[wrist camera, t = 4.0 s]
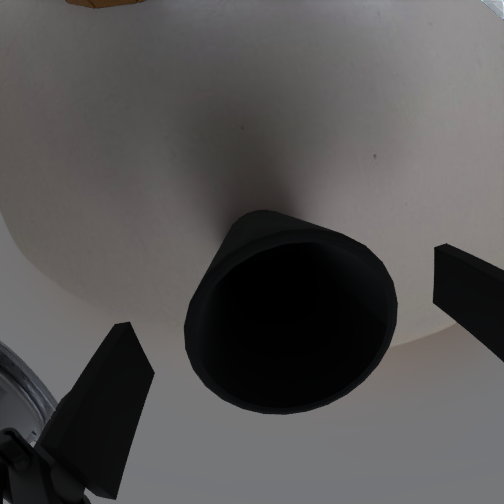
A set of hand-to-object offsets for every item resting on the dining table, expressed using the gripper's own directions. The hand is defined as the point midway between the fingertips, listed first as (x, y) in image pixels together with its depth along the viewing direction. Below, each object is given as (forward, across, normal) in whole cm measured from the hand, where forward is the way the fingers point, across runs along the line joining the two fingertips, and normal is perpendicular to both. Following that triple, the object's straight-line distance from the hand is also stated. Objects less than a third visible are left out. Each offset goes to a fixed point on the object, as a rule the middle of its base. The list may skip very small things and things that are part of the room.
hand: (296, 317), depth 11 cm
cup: (+11, 0, 0) cm, 11 cm away
